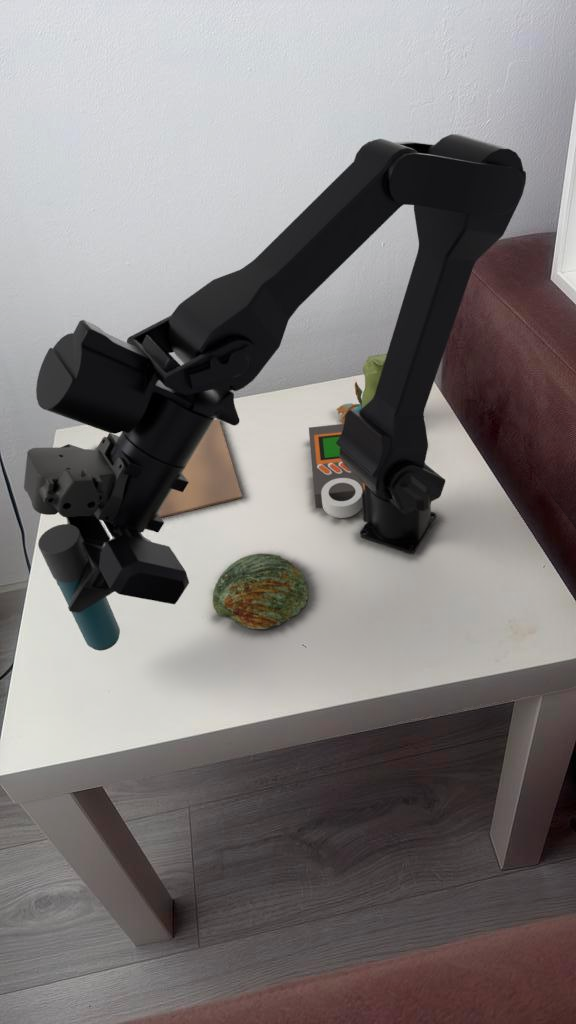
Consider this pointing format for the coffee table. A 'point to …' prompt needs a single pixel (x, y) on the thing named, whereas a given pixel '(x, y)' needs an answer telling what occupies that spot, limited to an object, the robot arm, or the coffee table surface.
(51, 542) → the cylinder
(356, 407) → the dragon figurine
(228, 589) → the seashell
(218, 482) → the brown square board
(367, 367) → the green tall rounded piece
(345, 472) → the electronic device
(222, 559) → the coffee table surface
